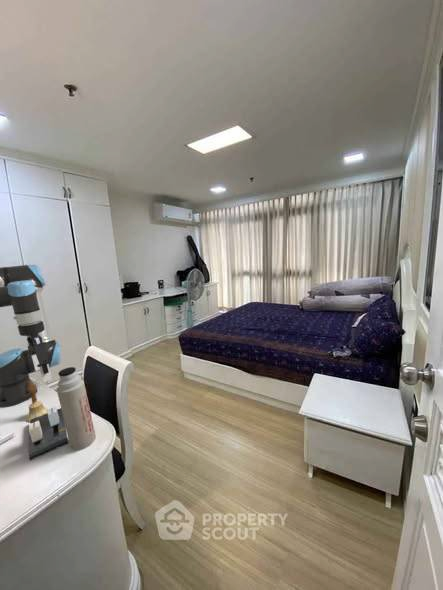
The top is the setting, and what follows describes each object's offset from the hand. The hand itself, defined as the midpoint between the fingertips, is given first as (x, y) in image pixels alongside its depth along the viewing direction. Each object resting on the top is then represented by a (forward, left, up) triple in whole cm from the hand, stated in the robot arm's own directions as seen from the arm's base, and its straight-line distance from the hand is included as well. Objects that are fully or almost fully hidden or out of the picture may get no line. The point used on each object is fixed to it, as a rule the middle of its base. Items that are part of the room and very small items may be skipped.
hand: (43, 374), depth 95 cm
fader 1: (+10, -5, -20) cm, 23 cm away
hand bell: (-11, -6, -22) cm, 25 cm away
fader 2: (+4, 0, -20) cm, 20 cm away
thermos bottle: (+20, +8, -22) cm, 30 cm away
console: (+6, -2, -21) cm, 22 cm away
